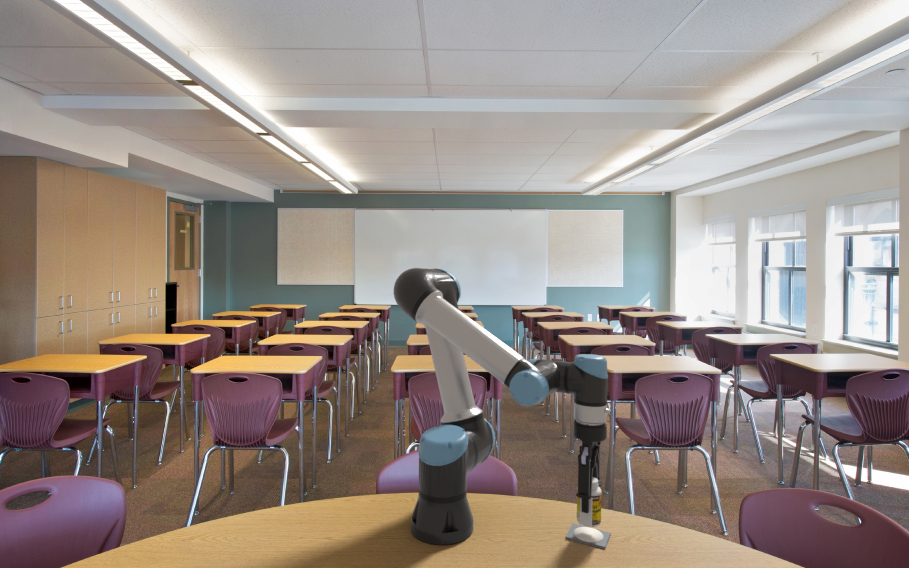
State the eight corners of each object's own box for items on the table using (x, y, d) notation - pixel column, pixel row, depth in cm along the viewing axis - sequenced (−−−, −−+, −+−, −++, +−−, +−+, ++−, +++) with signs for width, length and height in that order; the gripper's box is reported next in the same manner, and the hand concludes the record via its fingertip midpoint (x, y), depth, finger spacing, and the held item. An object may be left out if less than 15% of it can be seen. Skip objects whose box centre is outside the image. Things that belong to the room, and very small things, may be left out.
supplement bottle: (590, 530, 110) (590, 486, 109) (571, 520, 114) (572, 477, 114) (606, 524, 113) (606, 480, 112) (587, 514, 117) (588, 472, 117)
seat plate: (565, 538, 112) (565, 536, 112) (572, 525, 119) (572, 522, 119) (605, 549, 108) (605, 546, 108) (610, 534, 114) (610, 532, 114)
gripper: (598, 434, 103) (597, 541, 103) (613, 413, 120) (611, 506, 120) (564, 429, 107) (562, 533, 107) (583, 409, 123) (581, 499, 123)
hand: (588, 518), depth 113 cm, fingers closed on supplement bottle, 6 cm apart
